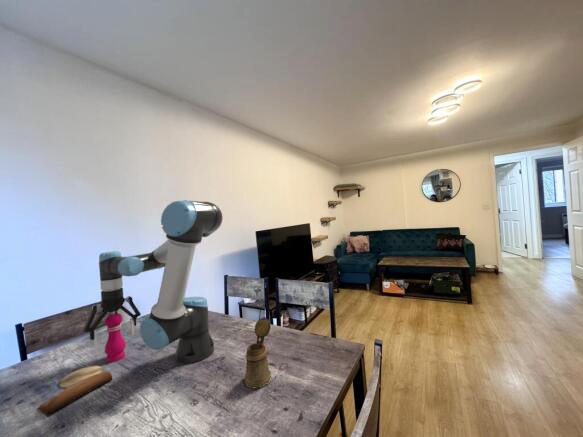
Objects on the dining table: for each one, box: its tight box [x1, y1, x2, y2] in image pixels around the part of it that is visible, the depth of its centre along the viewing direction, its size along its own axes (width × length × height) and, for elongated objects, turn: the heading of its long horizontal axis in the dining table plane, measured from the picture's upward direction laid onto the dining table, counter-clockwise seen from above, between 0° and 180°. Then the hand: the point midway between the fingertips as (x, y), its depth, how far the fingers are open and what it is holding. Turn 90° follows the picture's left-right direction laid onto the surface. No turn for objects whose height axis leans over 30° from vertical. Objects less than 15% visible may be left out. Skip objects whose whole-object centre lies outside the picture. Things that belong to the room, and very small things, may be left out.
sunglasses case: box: [36, 371, 113, 417], centre depth 83 cm, size 18×7×7 cm
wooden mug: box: [244, 316, 272, 388], centre depth 88 cm, size 9×14×18 cm, turn 164°
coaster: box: [59, 365, 103, 389], centre depth 93 cm, size 12×12×1 cm
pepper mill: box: [104, 311, 127, 363], centre depth 105 cm, size 7×7×20 cm
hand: (114, 340), depth 105 cm, fingers open, 12 cm apart
